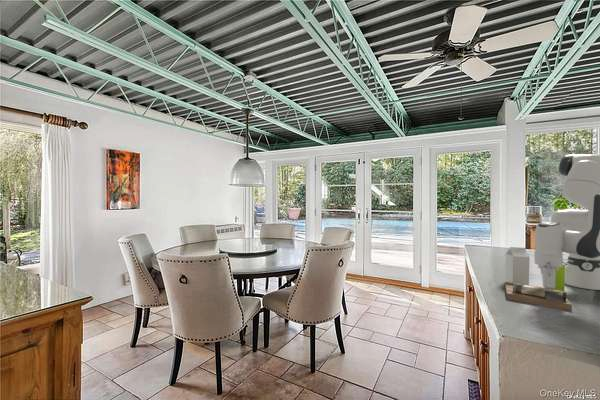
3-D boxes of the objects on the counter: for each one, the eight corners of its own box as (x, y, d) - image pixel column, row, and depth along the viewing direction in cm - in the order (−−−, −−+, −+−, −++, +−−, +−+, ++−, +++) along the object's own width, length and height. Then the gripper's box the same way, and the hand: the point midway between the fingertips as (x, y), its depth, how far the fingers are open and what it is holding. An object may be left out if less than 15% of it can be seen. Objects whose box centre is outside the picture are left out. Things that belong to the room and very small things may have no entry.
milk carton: (528, 287, 136) (529, 248, 136) (512, 286, 137) (513, 248, 137) (520, 283, 143) (521, 246, 143) (505, 281, 144) (505, 245, 144)
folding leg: (513, 292, 119) (513, 284, 119) (512, 290, 122) (513, 282, 122) (566, 301, 109) (566, 293, 109) (565, 298, 112) (565, 290, 112)
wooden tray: (505, 286, 135) (505, 275, 135) (560, 295, 124) (560, 283, 124) (507, 299, 117) (507, 286, 117) (571, 311, 106) (572, 296, 106)
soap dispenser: (569, 294, 125) (570, 251, 125) (549, 291, 129) (550, 249, 129) (565, 291, 130) (566, 249, 130) (546, 288, 134) (547, 247, 134)
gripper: (560, 266, 105) (560, 302, 105) (556, 258, 121) (556, 289, 121) (538, 264, 109) (538, 298, 109) (537, 256, 125) (537, 286, 125)
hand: (547, 293), depth 115 cm, fingers closed, pressing on folding leg
